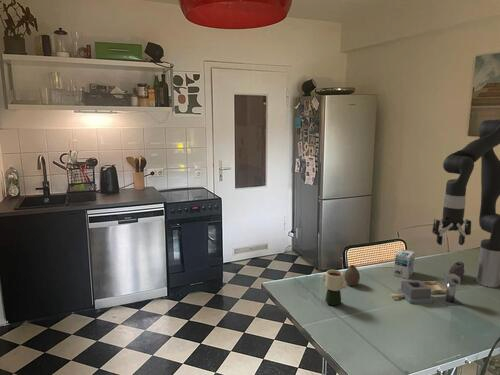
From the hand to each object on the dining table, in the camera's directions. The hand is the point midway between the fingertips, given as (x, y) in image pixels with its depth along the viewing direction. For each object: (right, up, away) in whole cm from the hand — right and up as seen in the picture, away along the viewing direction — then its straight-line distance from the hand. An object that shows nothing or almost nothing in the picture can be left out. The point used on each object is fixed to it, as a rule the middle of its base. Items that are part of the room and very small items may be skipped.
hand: (450, 244), depth 151 cm
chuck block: (-14, -24, +5) cm, 28 cm away
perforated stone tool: (+16, -21, +26) cm, 37 cm away
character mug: (-48, -24, 0) cm, 53 cm away
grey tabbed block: (+1, -24, +3) cm, 24 cm away
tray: (0, -22, +14) cm, 26 cm away
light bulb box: (-6, -19, +31) cm, 37 cm away
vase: (-35, -21, +18) cm, 45 cm away
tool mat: (+1, -24, +3) cm, 24 cm away
